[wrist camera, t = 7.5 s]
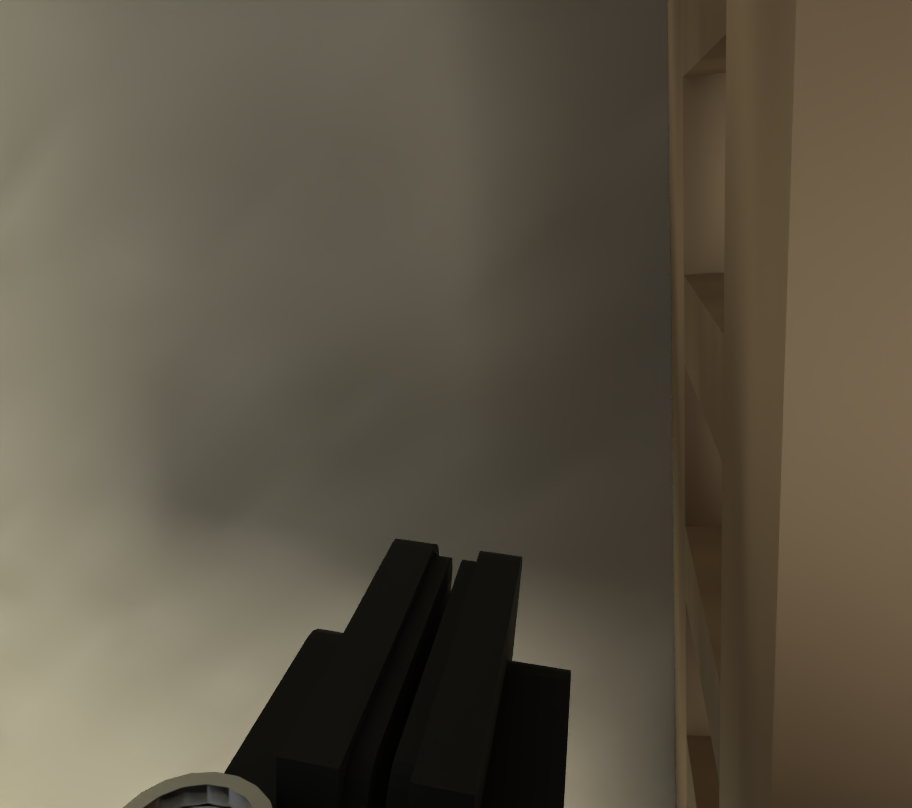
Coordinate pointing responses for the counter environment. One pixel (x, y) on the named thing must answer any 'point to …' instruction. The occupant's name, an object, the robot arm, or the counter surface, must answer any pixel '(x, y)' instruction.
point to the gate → (792, 401)
